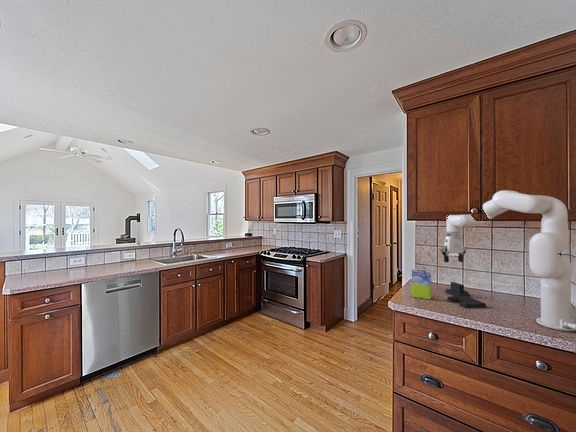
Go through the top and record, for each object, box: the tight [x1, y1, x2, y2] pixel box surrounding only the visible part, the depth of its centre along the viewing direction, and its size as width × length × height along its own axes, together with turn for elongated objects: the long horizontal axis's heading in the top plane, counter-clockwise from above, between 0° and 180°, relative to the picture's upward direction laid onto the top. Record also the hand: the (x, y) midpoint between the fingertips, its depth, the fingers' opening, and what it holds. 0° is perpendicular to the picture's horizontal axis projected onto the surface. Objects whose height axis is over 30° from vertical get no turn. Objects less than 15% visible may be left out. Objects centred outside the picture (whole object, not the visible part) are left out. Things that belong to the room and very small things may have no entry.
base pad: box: [447, 295, 487, 309], centre depth 147 cm, size 14×12×2 cm
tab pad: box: [445, 281, 471, 298], centre depth 164 cm, size 12×10×7 cm
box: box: [411, 268, 432, 301], centre depth 158 cm, size 10×4×17 cm, turn 54°
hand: (453, 261), depth 160 cm, fingers open, 9 cm apart
